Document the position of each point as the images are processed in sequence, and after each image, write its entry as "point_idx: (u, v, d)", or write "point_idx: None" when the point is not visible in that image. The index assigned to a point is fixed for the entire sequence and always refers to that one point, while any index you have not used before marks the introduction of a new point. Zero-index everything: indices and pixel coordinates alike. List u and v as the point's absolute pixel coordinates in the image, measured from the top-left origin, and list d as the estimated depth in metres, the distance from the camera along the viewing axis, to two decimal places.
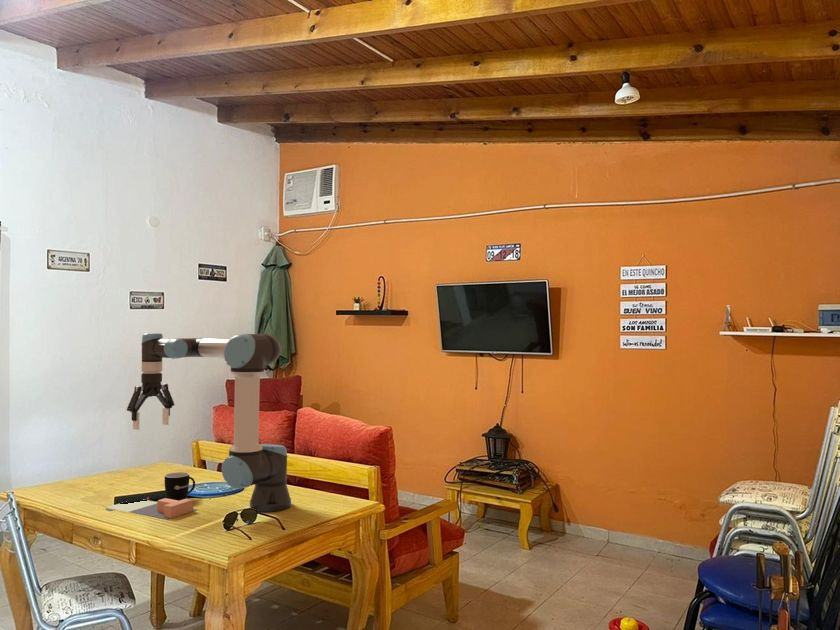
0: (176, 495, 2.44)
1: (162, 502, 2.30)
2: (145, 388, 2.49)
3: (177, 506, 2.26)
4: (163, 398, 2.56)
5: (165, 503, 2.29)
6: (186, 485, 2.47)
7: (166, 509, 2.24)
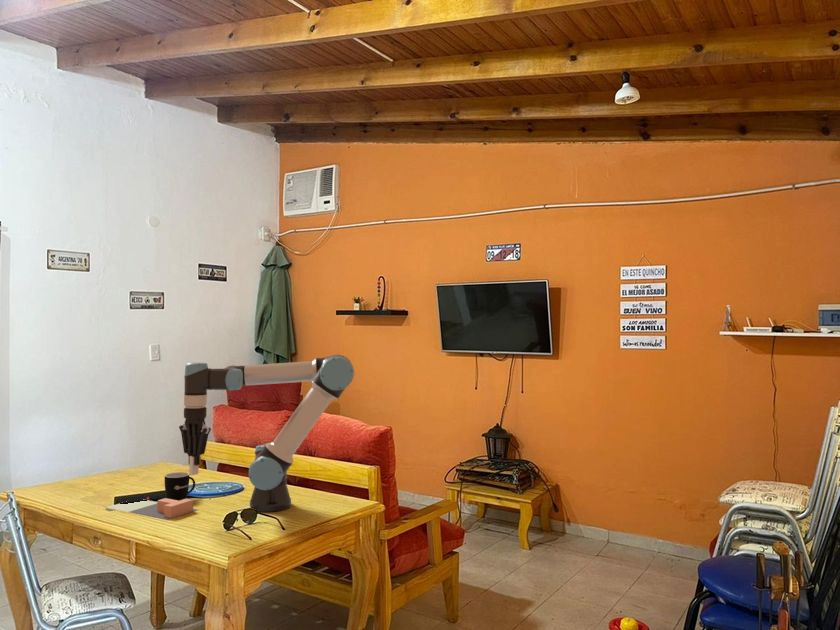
0: (176, 495, 2.44)
1: (162, 502, 2.30)
2: (185, 424, 2.26)
3: (177, 506, 2.26)
4: (194, 441, 2.24)
5: (165, 503, 2.29)
6: (186, 485, 2.47)
7: (166, 509, 2.24)
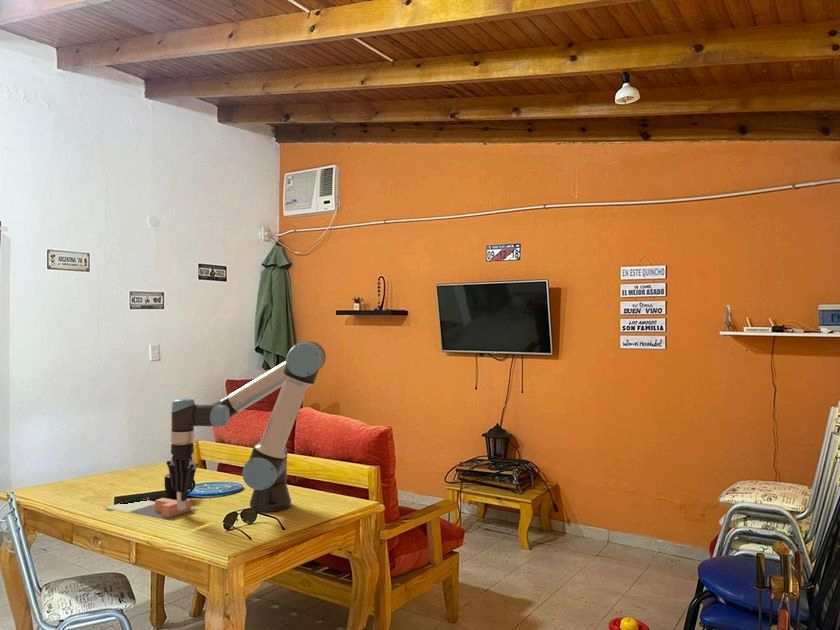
0: None
1: (160, 502, 2.30)
2: (172, 459, 2.29)
3: (174, 505, 2.26)
4: (181, 477, 2.26)
5: (163, 503, 2.30)
6: None
7: (163, 509, 2.25)
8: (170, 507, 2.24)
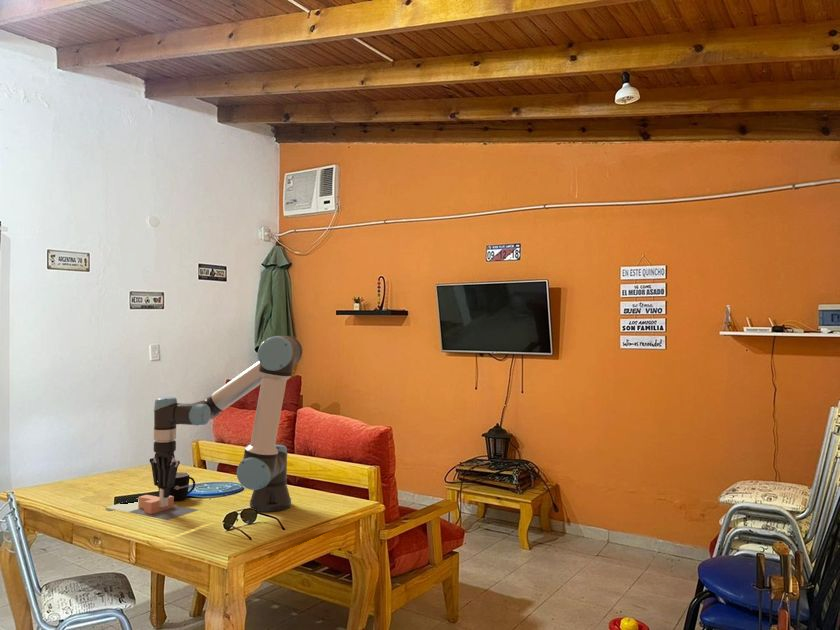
0: (176, 495, 2.44)
1: (143, 498, 2.34)
2: (155, 457, 2.33)
3: (157, 502, 2.30)
4: (164, 474, 2.30)
5: (146, 499, 2.34)
6: (186, 485, 2.47)
7: (146, 505, 2.29)
8: (152, 504, 2.28)
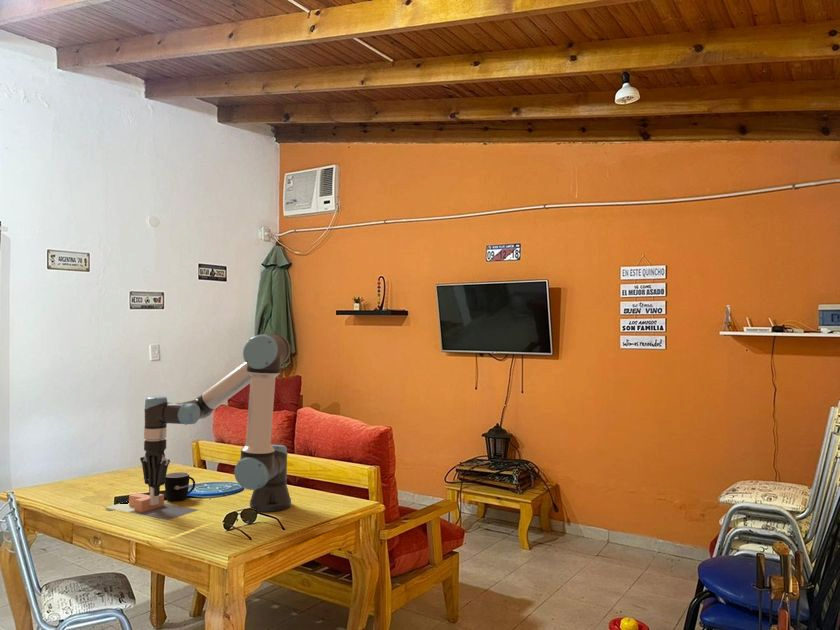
0: (176, 495, 2.44)
1: (133, 497, 2.36)
2: (146, 456, 2.35)
3: (147, 500, 2.32)
4: (154, 472, 2.33)
5: (136, 498, 2.36)
6: (186, 485, 2.47)
7: (136, 504, 2.31)
8: (143, 502, 2.31)
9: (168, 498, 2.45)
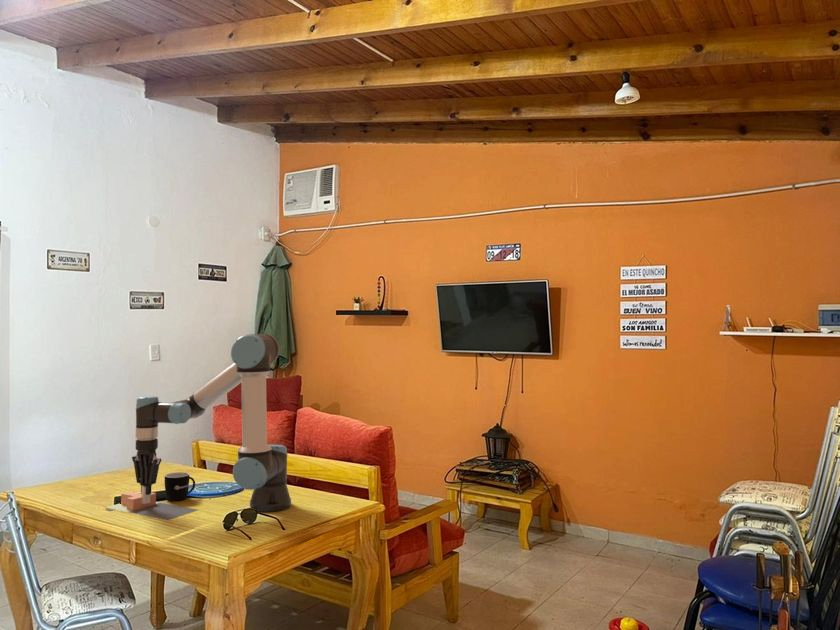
0: (176, 495, 2.44)
1: (126, 495, 2.38)
2: (137, 455, 2.37)
3: (139, 499, 2.34)
4: (146, 471, 2.35)
5: (128, 496, 2.38)
6: (186, 485, 2.47)
7: (128, 502, 2.33)
8: (135, 500, 2.33)
9: (168, 498, 2.45)
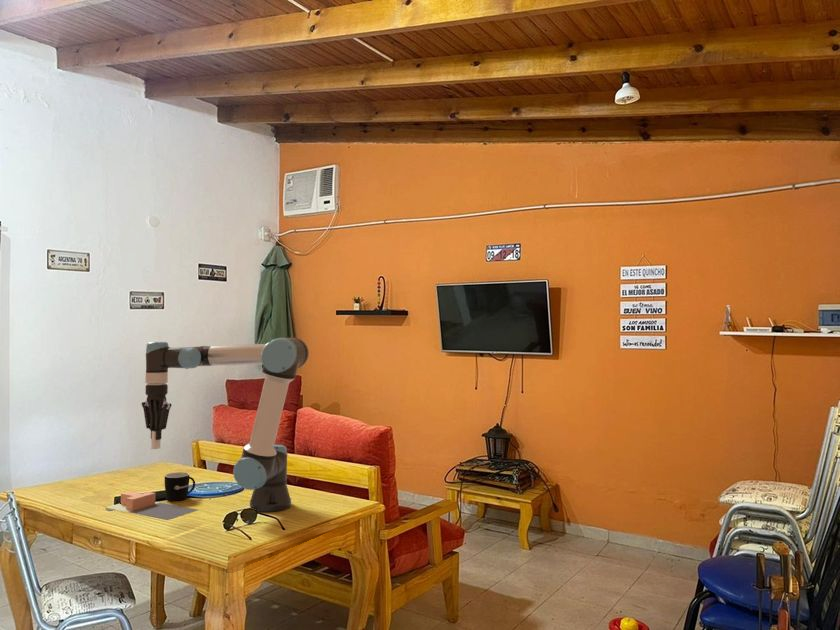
0: (176, 495, 2.44)
1: (125, 495, 2.39)
2: (147, 400, 2.36)
3: (138, 499, 2.34)
4: (156, 416, 2.34)
5: (128, 496, 2.38)
6: (186, 485, 2.47)
7: (128, 502, 2.33)
8: (134, 500, 2.33)
9: (168, 498, 2.45)
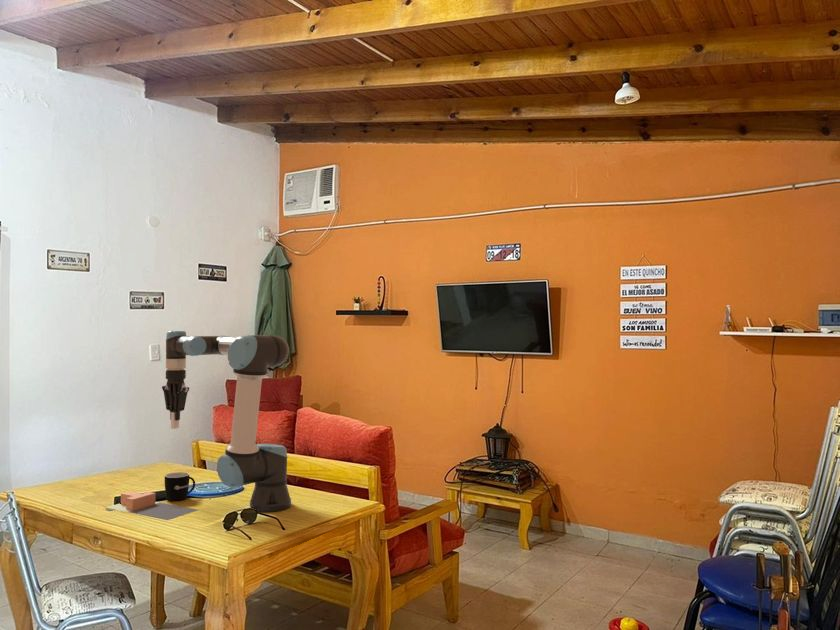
0: (176, 495, 2.44)
1: (125, 495, 2.39)
2: (167, 384, 2.59)
3: (138, 499, 2.34)
4: (175, 399, 2.56)
5: (128, 496, 2.38)
6: (186, 485, 2.47)
7: (128, 502, 2.33)
8: (134, 500, 2.33)
9: (168, 498, 2.45)
